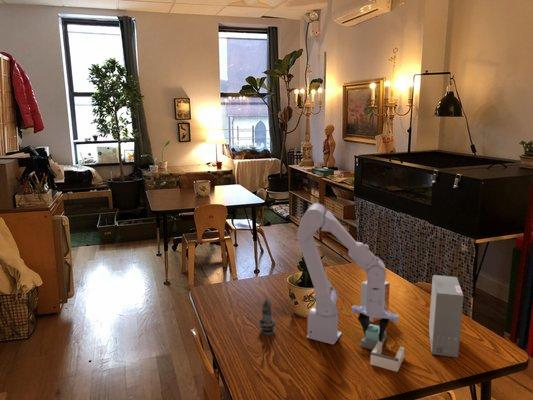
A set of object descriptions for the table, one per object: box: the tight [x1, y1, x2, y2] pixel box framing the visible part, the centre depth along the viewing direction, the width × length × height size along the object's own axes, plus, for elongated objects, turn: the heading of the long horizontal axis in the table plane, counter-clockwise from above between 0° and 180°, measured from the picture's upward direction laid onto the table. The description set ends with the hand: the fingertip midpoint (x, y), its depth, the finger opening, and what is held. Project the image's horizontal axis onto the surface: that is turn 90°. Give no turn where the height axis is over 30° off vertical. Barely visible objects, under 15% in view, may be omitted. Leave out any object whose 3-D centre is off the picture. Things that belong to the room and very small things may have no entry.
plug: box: [364, 323, 382, 342], centre depth 136 cm, size 5×4×5 cm
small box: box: [360, 280, 391, 323], centre depth 152 cm, size 8×6×13 cm
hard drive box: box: [428, 274, 465, 358], centre depth 133 cm, size 16×8×20 cm, turn 163°
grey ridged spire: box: [257, 298, 277, 336], centre depth 143 cm, size 6×6×12 cm
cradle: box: [359, 330, 388, 351], centre depth 136 cm, size 9×6×2 cm
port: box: [369, 341, 405, 372], centre depth 126 cm, size 8×8×4 cm
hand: (373, 337), depth 136 cm, fingers closed on plug, 4 cm apart
